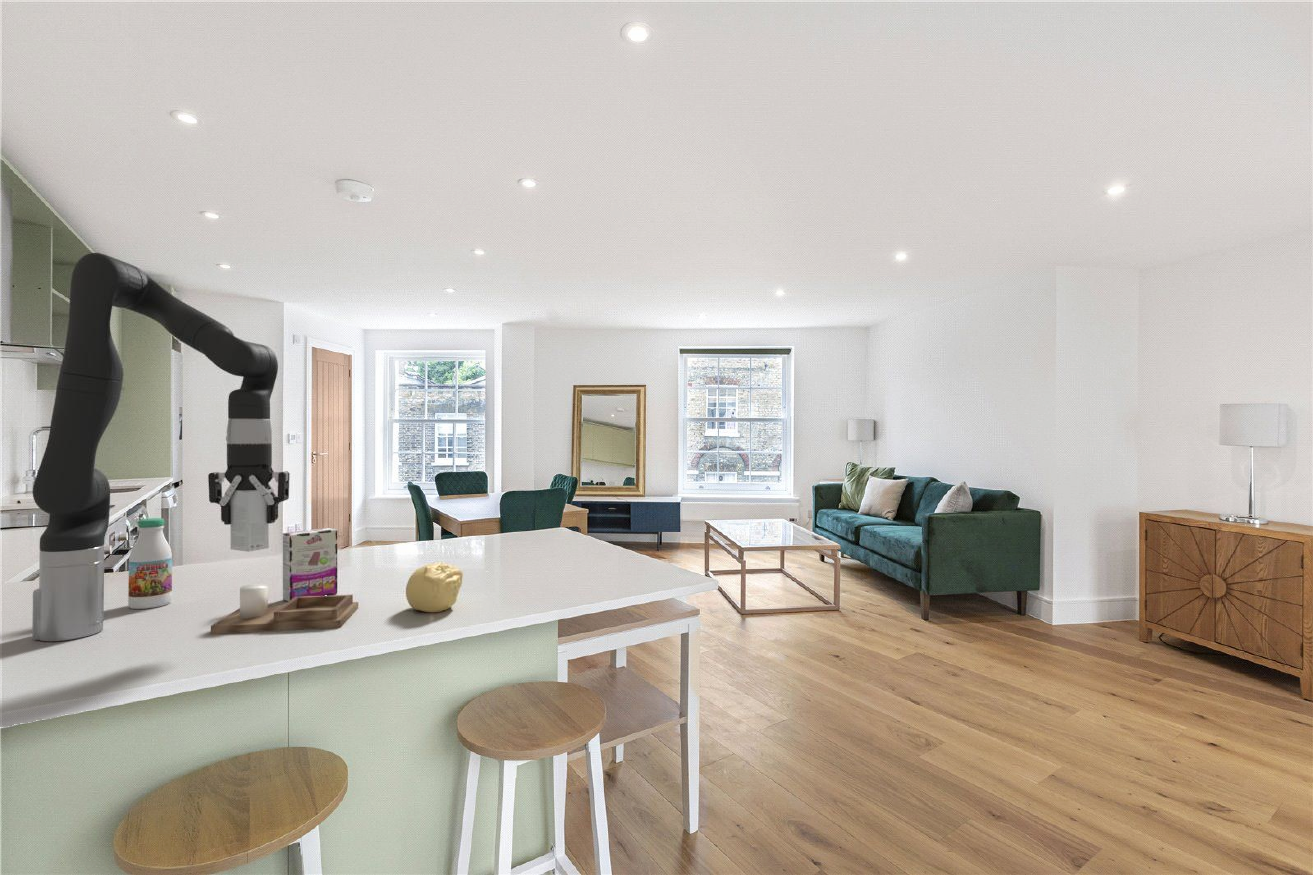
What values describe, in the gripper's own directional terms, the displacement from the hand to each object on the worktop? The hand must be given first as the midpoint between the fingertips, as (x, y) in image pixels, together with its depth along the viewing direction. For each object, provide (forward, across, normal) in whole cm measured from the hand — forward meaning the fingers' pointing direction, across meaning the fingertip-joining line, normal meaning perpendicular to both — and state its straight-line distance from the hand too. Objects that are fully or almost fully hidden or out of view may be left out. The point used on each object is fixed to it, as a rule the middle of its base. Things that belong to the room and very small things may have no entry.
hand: (249, 523), depth 121 cm
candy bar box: (+23, -2, -27) cm, 36 cm away
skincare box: (+5, 0, 0) cm, 5 cm away
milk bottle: (+22, +31, -25) cm, 46 cm away
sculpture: (+23, -33, -13) cm, 42 cm away
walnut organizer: (+22, -4, -8) cm, 24 cm away
